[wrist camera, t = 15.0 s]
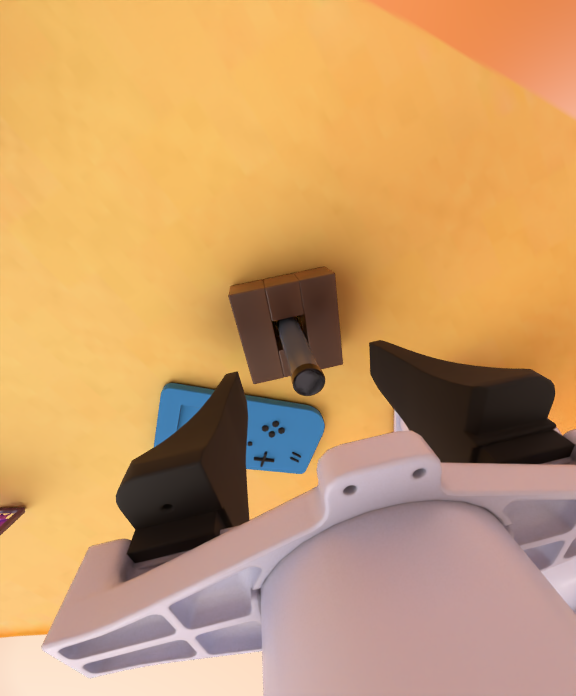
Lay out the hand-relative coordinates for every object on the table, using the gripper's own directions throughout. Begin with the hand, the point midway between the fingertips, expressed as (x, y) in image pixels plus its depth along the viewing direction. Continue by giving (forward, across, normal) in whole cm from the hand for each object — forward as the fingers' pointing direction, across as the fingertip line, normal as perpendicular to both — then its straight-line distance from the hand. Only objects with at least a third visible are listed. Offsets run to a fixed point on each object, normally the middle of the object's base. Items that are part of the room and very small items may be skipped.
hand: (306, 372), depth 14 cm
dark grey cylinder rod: (+8, 0, 0) cm, 8 cm away
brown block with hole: (+8, 0, 0) cm, 8 cm away
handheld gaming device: (+8, +6, +10) cm, 14 cm away
